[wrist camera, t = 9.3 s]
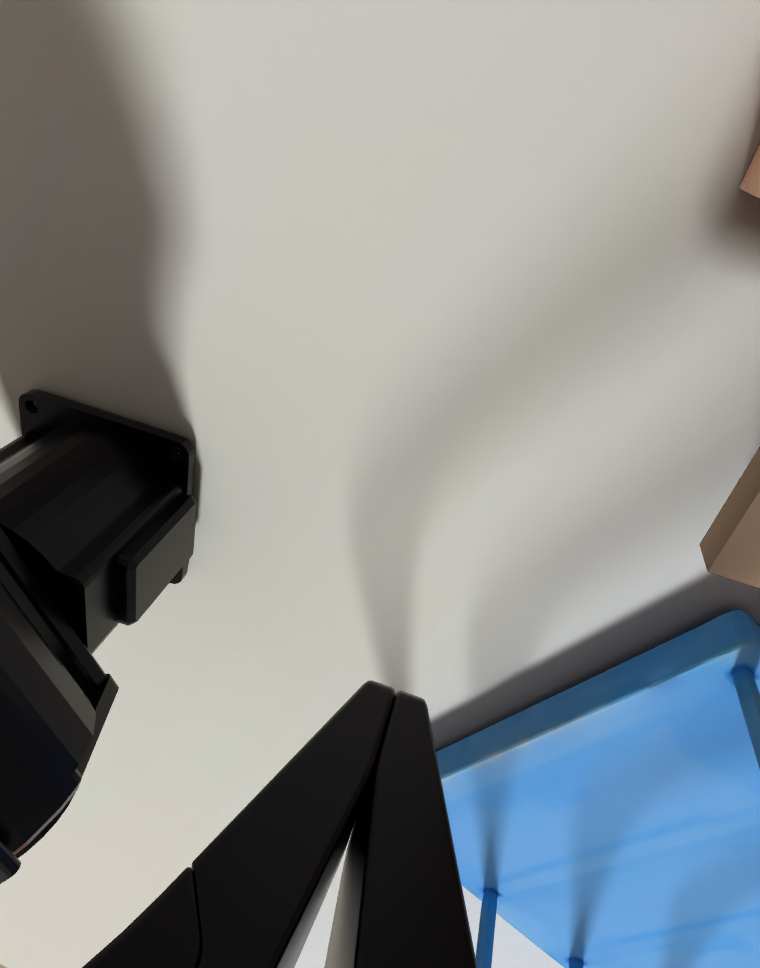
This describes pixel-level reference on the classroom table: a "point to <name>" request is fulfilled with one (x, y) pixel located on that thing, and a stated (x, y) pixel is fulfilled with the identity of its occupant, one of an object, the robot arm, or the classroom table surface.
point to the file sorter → (623, 810)
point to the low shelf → (737, 531)
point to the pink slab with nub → (752, 177)
